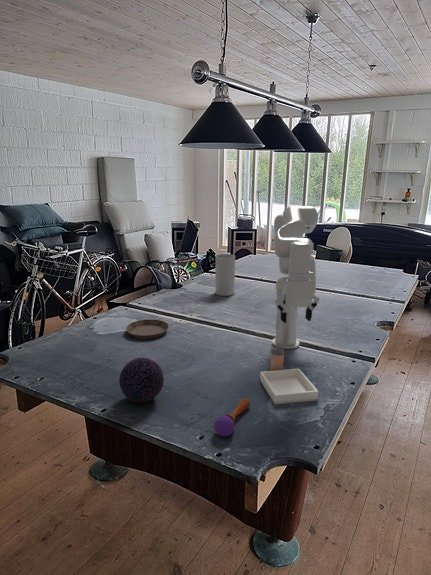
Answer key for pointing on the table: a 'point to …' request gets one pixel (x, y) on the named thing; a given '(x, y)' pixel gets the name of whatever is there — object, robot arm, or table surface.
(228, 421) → the brown purple handled piece
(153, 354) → the table surface
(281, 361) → the cylinder
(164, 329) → the plant saucer
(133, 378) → the toy ball
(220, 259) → the cylinder vase
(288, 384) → the tray
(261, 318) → the table surface
